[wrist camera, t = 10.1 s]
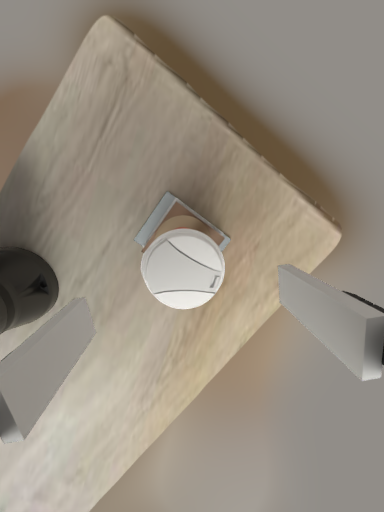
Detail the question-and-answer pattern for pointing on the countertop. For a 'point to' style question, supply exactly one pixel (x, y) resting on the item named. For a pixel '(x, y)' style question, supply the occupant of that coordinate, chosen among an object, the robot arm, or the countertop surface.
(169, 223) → the pedestal
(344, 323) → the robot arm
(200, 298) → the coffee cup
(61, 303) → the countertop surface
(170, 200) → the build plate
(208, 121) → the countertop surface
